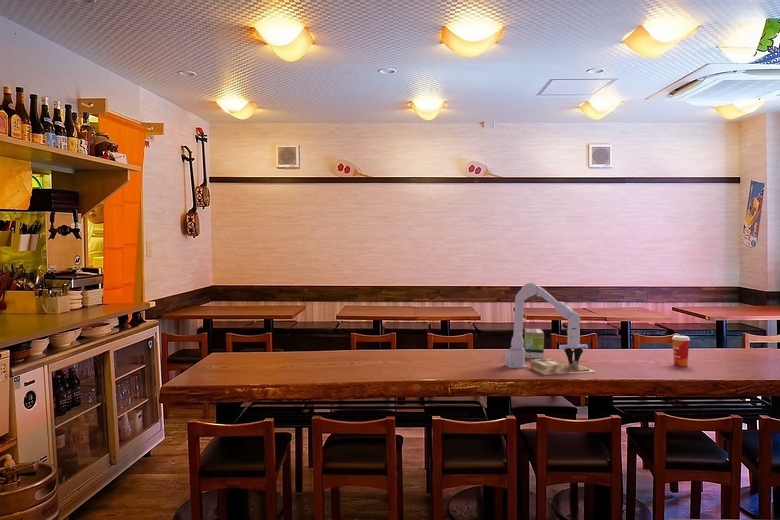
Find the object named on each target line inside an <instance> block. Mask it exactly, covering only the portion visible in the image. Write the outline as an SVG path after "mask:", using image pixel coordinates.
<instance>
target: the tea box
mask: <svg viewBox="0 0 780 520" xmlns="http://www.w3.org/2000/svg"><path fill="white" fill-rule="evenodd" d="M523 339H524V346H523V347H524V348H525V359H532V358H535V359H534V360H536V359H545V358H544V355H545V354H544V353H545V333H544V331H543V329H542V328H541V329H540V328H524V336H523Z"/></svg>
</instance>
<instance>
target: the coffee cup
mask: <svg viewBox="0 0 780 520" xmlns="http://www.w3.org/2000/svg"><path fill="white" fill-rule="evenodd" d="M671 339H672V353H673V354H672V355H673V365H674V364H675V365H674V366H676V365H679V366H678V367H687V366H688V363H689V362H688V361H689V351H690V350H689V349H690V348H689V346H690V341H691V339H690V337H689V336H687V335H676V334H675V335H673V336H672V338H671Z"/></svg>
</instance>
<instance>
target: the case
mask: <svg viewBox="0 0 780 520" xmlns="http://www.w3.org/2000/svg"><path fill="white" fill-rule="evenodd" d="M567 365H568V364H564V363H563V364H562V363H560V362H557V361H555V359H554V358H543V359H530V369H532V370H534V371H536V372H537V373H540V374H542V375H544V376H547V375H565V374H566V375H567V374H568V373H567Z"/></svg>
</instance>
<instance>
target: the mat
mask: <svg viewBox="0 0 780 520" xmlns="http://www.w3.org/2000/svg"><path fill="white" fill-rule="evenodd" d="M578 365H579V366H582V367H584V368H587V367H585V366H583V365H580V364H578ZM587 369H589V370H590V371H576V372H569V371H567V374H586V373H588V374H589V373H596V371H595V370H592V369H590V368H587Z"/></svg>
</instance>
